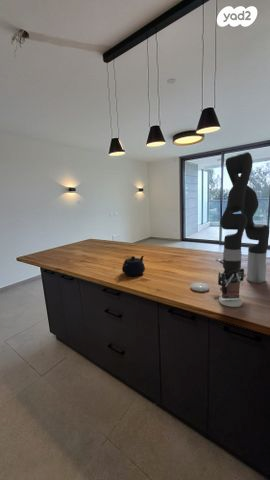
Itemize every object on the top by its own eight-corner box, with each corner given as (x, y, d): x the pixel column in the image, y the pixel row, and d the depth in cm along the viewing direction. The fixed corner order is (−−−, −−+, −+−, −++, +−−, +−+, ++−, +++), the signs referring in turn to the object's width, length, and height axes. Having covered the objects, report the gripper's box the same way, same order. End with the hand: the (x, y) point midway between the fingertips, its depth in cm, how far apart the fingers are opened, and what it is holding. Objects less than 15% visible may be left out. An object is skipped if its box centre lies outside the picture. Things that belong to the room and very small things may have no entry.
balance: (219, 284, 122) (219, 258, 119) (247, 295, 106) (248, 265, 104) (212, 286, 120) (213, 259, 117) (240, 297, 104) (241, 267, 101)
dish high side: (200, 283, 124) (200, 281, 123) (213, 289, 115) (213, 287, 115) (186, 287, 119) (186, 284, 119) (199, 293, 111) (199, 291, 110)
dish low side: (228, 296, 106) (228, 293, 106) (247, 304, 97) (247, 301, 97) (214, 301, 102) (214, 298, 101) (232, 310, 93) (232, 307, 93)
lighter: (237, 295, 101) (238, 275, 99) (240, 298, 97) (241, 277, 96) (220, 295, 101) (221, 275, 99) (223, 299, 97) (224, 278, 96)
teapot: (133, 281, 132) (132, 262, 130) (114, 277, 141) (113, 259, 139) (153, 269, 153) (152, 253, 150) (135, 266, 161) (134, 251, 159)
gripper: (235, 254, 102) (234, 286, 105) (214, 258, 96) (213, 292, 99) (250, 257, 95) (248, 291, 98) (227, 262, 89) (226, 298, 92)
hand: (230, 291), depth 99 cm, fingers closed on lighter, 7 cm apart
